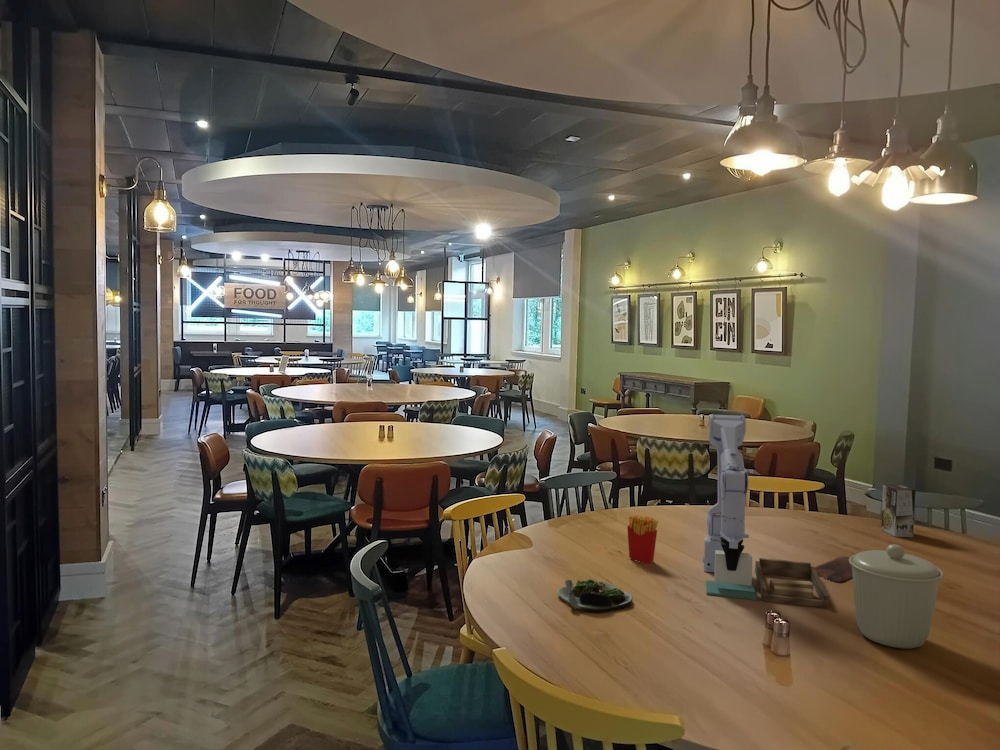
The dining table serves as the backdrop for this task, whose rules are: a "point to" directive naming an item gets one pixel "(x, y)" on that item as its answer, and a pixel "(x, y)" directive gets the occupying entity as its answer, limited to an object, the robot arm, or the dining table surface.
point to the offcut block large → (790, 584)
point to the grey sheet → (733, 577)
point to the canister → (894, 596)
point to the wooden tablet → (835, 569)
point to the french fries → (642, 538)
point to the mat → (730, 590)
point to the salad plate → (594, 596)
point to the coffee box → (898, 510)
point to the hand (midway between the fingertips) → (731, 568)
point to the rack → (795, 571)
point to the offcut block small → (793, 592)
